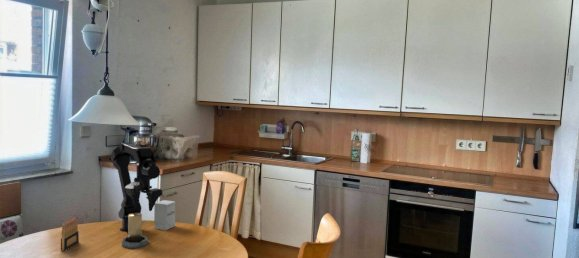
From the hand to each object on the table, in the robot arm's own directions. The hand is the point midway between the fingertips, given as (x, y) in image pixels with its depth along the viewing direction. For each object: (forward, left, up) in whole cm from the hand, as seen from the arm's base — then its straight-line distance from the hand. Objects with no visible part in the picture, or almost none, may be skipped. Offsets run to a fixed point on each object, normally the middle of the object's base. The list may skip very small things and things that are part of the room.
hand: (143, 209), depth 194 cm
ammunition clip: (-16, -25, -13) cm, 32 cm away
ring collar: (+4, -8, -13) cm, 16 cm away
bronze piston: (+4, -8, -12) cm, 15 cm away
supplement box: (-3, +16, -13) cm, 21 cm away
